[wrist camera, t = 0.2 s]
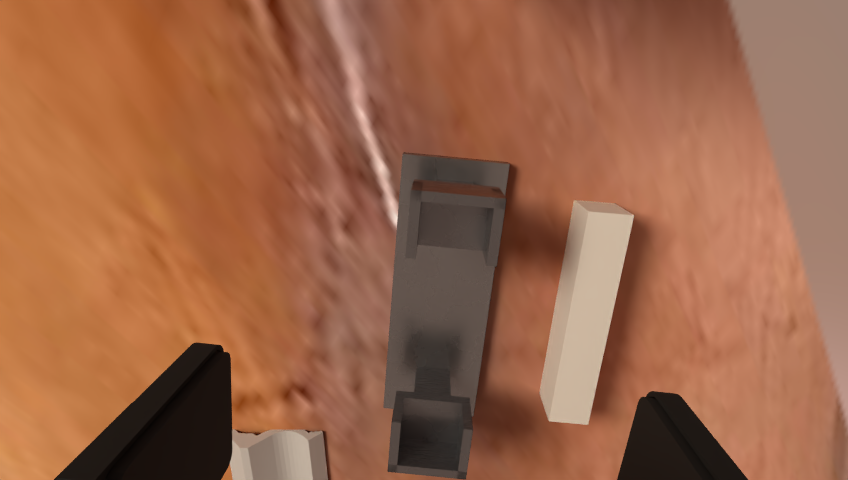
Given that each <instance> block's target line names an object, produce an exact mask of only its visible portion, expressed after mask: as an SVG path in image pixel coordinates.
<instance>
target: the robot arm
mask: <svg viewBox="0 0 848 480" xmlns="http://www.w3.org/2000/svg"><path fill="white" fill-rule="evenodd" d="M232 449H233V448H232V403H231V359H230V354H229V353H228V352H224V351H223V348H222V346H221V345H214V344H205V343H193V344H192V345H191V346H190V347H189V348H188V349H187V350H186V351H185V352H184V353H183V354H182V355H181V356H180V357H179V358H178V359H177V360H176V361H175V362H174V363H173V364H172V365H171V366H170V367H169V368H168V369H166V370H165V371H164V372H163V373H162V374H161V375H160V376H159V377H158V378H157V379H156V380H155V381H154V382H153V383H152V384H151V385H150V386H149V387H148V388H147V389H146V390H145V391H144V392H143V393H142V394H141V395H140V396H139V397H138V398H137V399H136V400H135V401H134V402H133V403H131V404H130V405H129V406H128V407H127V408H126V409H125V410H124V411H123V412H122V413H121V414H120V415H119V416H118V417H117V418H116V419H115V420H114V421H113V422H112V423H111V424H110V425H109V426H108V427H107V428H106V429H105V430H104V431H103V432H102V433H101V434H100V435H99V436H98V437H97V438H96V439H95V440H94V441H93V442H92V443H91V444H90V445H89V446H88V447H87V448H86V449H84V450H83V451H82V452H81V453H80V454H79V455H78V456H77V457H76V458H75V459H74V460H73V461H72V462H71V463H70V464H69V465H68V466H67V467H66V468H65V469H64V470H63V471H62V472H61V473H60V474H59V475H58V476H57V477H56V478H55V479H54V480H221V479H222V477H223V475H224V473H225V472H226V470H227V468H228V466H229V464H230V461H231V457H232ZM617 480H748V479H747V478H746V476H745V475H744V474H743V473H742V472H741V470H740V469H739V468H738V467H737V465H736V464H735V463H734V462H733V460H732V459H731V458H730V457H729V455H728V454H727V453H726V452H725V450H724V449H723V448H722V447H721V446H720V444H719V443H718V442H717V441H716V439H715V438H714V437H713V436H712V434H711V433H710V432H709V431H708V429H707V428H706V427H705V426H704V424H703V423H702V422H701V421H700V420H699V418H698V417H697V416H696V415H695V413H694V412H693V411H692V410H691V408H690V407H689V406H688V405H687V403H686V402H685V401H684V400H683V398H682V397H681V396H680V395H678V394H673V393H664V392H654V391H651V392H649V393H648V394H647V396H646V397H641V398H640V400H639V402H638V405H637V409H636V413H635V416H634V420H633V424H632V427H631V431H630V435H629V438H628V442H627V446H626V449H625V453H624V457H623V461H622V464H621V468H620V472H619V475H618V479H617Z"/></svg>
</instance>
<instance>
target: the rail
mask: <svg viewBox="0 0 848 480" xmlns="http://www.w3.org/2000/svg"><path fill="white" fill-rule="evenodd" d="M633 219H634V215H633V214H631V213H630V212H628V211H626V210H625V209H623V208H622V207H620V206H618V205H617V204H615V203H604V202H592V201H580V200H574V203H573V209H572V214H571V220H570V225H569V231H568V236H567V242H566V248H565V253H564V259H563V264H562V270H561V275H560V281H559V287H558V292H557V298H556V303H555V309H554V314H553V320H552V326H551V331H550V337H549V342H548V348H547V353H546V359H545V365H544V370H543V376H542V381H541V387H540V392H539V393H540V396H541V399H542V402H543V405H544V408H545V411H546V414H547V417H548V420H549V421H552V422H563V423H574V424H585V425H588V423H589V418H590V414H591V409H592V405H593V400H594V396H595V391H596V387H597V382H598V377H599V373H600V368H601V364H602V359H603V355H604V350H605V346H606V341H607V337H608V332H609V328H610V323H611V319H612V314H613V309H614V305H615V300H616V296H617V291H618V287H619V282H620V278H621V273H622V269H623V264H624V260H625V255H626V251H627V246H628V241H629V237H630V232H631V228H632V223H633Z"/></svg>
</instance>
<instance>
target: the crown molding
mask: <svg viewBox="0 0 848 480" xmlns="http://www.w3.org/2000/svg"><path fill="white" fill-rule="evenodd" d="M232 448H233V449H232V457H231V461H230V466H231V471H232V477H233V480H328V475H327V466H326V457H325V447H324V438H323V432H322V431H315V432H312V431H311V432H310V433H308V432H307V431H305V430H268V431H266V432H263V433H261V434H259V435H257V436H256V435H254V434H252V433H248V434H246V433H238V432H237V431H236V430H232Z"/></svg>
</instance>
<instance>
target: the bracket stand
mask: <svg viewBox="0 0 848 480" xmlns="http://www.w3.org/2000/svg"><path fill="white" fill-rule="evenodd" d="M509 166H510V164H509V163H508V162H499V161H489V160H478V159H468V158H457V157H447V156H436V155H426V154H415V153H405V152H404V153H403V156H402V169H401V182H400V196H399V209H398V222H397V236H396V249H395V262H394V275H393V289H392V302H391V315H390V328H389V342H388V355H387V368H386V381H385V395H384V408H391V409H394V410H393V417H392V424H391V437H390V449H389V461H388V472H396V473H406V474H416V475H427V476H437V477H447V478H457V479H466V475H467V468H468V461H469V454H470V447H471V440H472V433H473V425H472V416H474V409H475V402H476V395H477V388H478V381H479V374H480V367H481V360H482V353H483V346H484V339H485V332H486V325H487V318H488V311H489V305H490V298H491V291H492V284H493V277H494V270H495V267H497V261H498V254H499V247H500V240H501V234H502V227H503V220H504V213H505V206H506V197H505V193H506V186H507V180H508V173H509Z"/></svg>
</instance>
